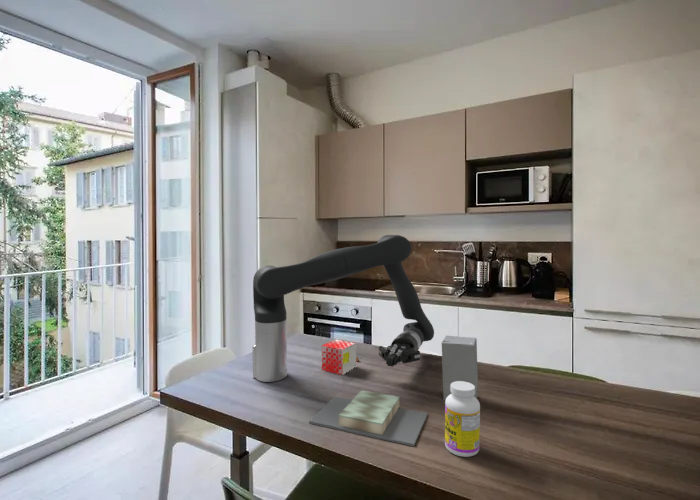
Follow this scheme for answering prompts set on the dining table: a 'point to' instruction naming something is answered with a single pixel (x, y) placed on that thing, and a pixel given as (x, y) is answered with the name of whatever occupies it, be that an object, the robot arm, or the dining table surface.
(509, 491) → the dining table surface
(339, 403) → the mat
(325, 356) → the red white patterned cube
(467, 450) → the supplement bottle
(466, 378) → the skincare box
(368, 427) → the board
